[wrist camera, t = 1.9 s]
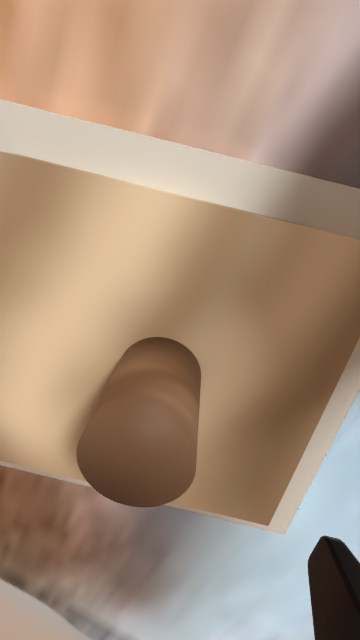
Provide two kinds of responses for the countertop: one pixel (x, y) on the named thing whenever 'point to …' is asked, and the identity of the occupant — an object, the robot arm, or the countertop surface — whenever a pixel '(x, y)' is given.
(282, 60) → the countertop surface
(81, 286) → the board
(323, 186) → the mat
